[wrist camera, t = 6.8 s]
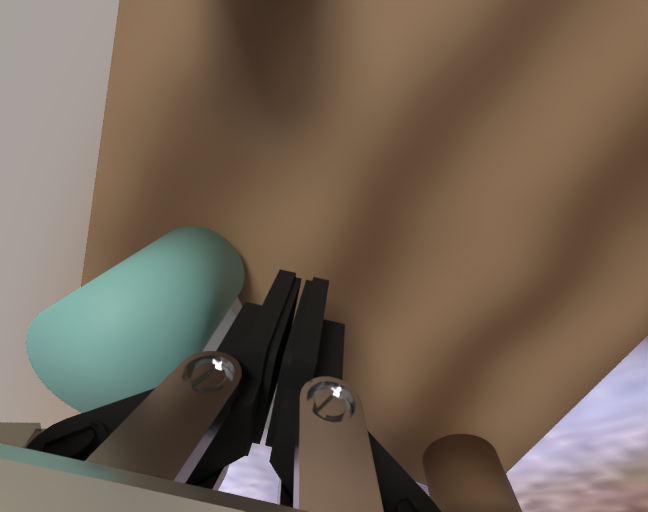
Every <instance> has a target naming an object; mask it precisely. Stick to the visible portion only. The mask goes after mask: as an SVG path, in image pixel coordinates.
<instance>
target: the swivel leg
mask: <svg viewBox="0 0 648 512" xmlns="http://www.w3.org/2000/svg"><path fill="white" fill-rule="evenodd" d="M244 276H245V274H244V267H243V263H242V260H241V258H240V256H239V254H238V252H237V251H236V249H235V248H234V247H233V245H232V244H231V243H230V242H229V241H228V240H227V239H225V238H224V237H223V236H221V235H220V234H218V233H216V232H215V231H212V230H210V229H207V228H204V227H198V226H184V227H179V228H176V229H174V230H172V231H170V232H168V233H167V234H165V235H164V236H162V237H160V238H159V239H157V240H156V241H154V242H152V243H151V244H149V245H148V246H146V247H144V248H143V249H141V250H140V251H138V252H136V253H135V254H133V255H132V256H130V257H129V258H127V259H125V260H124V261H122V262H121V263H119V264H117V265H116V266H114V267H113V268H111V269H109V270H108V271H106V272H105V273H103V274H101V275H100V276H98V277H97V278H95V279H93V280H92V281H90V282H89V283H87V284H85V285H84V286H82V287H81V288H79V289H77V290H76V291H74V292H73V293H71V294H69V295H68V296H66V297H65V298H63V299H62V300H60V301H58V302H57V303H55V304H54V305H52V306H50V307H49V308H47V309H45V310H44V311H42V312H41V313H40V314H39V315H38V316H36V318H35V319H34V320H33V322H32V323H31V325H30V327H29V329H28V333H27V340H26V344H27V353H28V356H29V360H30V362H31V364H32V367H33V369H34V370H35V372H36V374H37V375H38V377H39V378H40V380H41V381H42V382H43V383H44V384H45V386H46V387H47V388H48V389H49V390H50V391H51V392H52V393H53V394H54V395H56V396H57V397H58V398H59V399H61V400H62V401H63V402H65V403H66V404H68V405H70V406H71V407H73V408H74V409H76V410H78V411H80V412H82V413H84V412H87V411H90V410H93V409H96V408H99V407H102V406H105V405H107V404H110V403H113V402H116V401H119V400H122V399H125V398H128V397H130V396H133V395H136V394H139V393H142V392H145V391H148V390H151V389H153V388H156V387H157V386H158V385H159V384H160V383H161V382H162V381H163V380H164V379H165V378H166V377H167V376H168V375H169V374H170V373H171V372H172V371H173V370H174V369H175V368H176V367H177V366H178V365H179V364H180V363H181V362H182V361H183V360H185V359H186V358H187V357H189V356H191V355H193V354H196V353H199V352H202V351H203V352H204V351H216V350H217V348H218V347H219V345H220V343H221V342H222V340H223V338H224V337H225V335H226V333H227V332H228V330H229V328H230V327H231V325H232V323H233V322H234V320H235V318H236V316H237V315H238V313H239V311H240V310H241V308H242V305H241V303H240V301H239V298H238V295H239V293H240V292H241V290H242V287H243V284H244ZM277 384H278V383H277ZM276 389H277V387H276ZM275 394H276V390H275V393H274V397H273V400H272V404H271V407H270V411H269V414H268V417H267V421H266V424H265V428H269V424H270V419H271V414H272V409H273V404H274V399H275ZM265 428H264V429H265Z"/></svg>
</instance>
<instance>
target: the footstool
mask: <svg viewBox="0 0 648 512" xmlns="http://www.w3.org/2000/svg"><path fill="white" fill-rule="evenodd" d="M184 226H198V227H204V228H207V229H210V230H212V231H215V232H216V233H218V234H220V235H221V236H223V237H224V238H225V239H227V240H228V241H229V242H230V243H231V244H232V245H233V247H234V248H235V249H236V251H237V252H238V254H239V256H240V258H241V260H242V263H243V267H244V274H245V276H244V284H243V287H242V290H241V292H240V293H239V295H238V298H239V301H240V303H241V305H242V306H243V305H244V303H245V302H250V303H254V304H259V305H262V304H263V302H264V300H265V298H266V296H267V294H268V292H269V290H270V288H271V286H272V284H273V282H274V280H275V278H276V276H277V274H278V272H279V270H280V269H281V270H286V271H290V272H295V273H296V277H297V278H302V280H301V285H300V290H299V295H298V300H297V304H296V309H295V314H294V318H295V315H296V311H297V308H298V305H299V301H300V298H301V295H302V291H303V288H304V285H305V281H306V280H311V281H312V280H313V277H317V278H321V279H326V280H329V286H328V293H327V299H326V306H325V312H324V319H325V320H330V321H334V322H338V323H343V324H345V336H344V357H343V378H342V381H344V382H346V383H347V384H349V385H350V386H351V387H352V388H354V390H355V391H356V392H357V394H358V395H359V397H360V400H361V402H362V406H363V411H364V416H365V421H366V426H367V430H368V431H369V432H370V433H371V434H372V435H373V437H374V438H375V439H376V440H377V441H378V442H379V443H380V444H381V445H382V446H383V447H384V448H385V450H386V451H387V452H388V453H389V454H390V455H391V456H392V457H393V458H394V459H395V460H396V461H397V462H398V464H399V465H400V466H401V467H402V468H403V469H404V470H405V471H406V472H407V473H408V474H409V475H410V477H411V478H412V479H413V480H414V481H416V482H419V483H422V484H424V485H427V486H428V490H429V495H430V498H431V499H432V500H433V501H434V503H435V504H436V505H437V507H438V508H439V509H440V511H441V512H522V510H521V508H520V505H519V503H518V501H517V499H516V496H515V494H514V492H513V489H512V487H511V485H510V482H509V480H508V478H507V475H506V473H507V472H508V471H509V470H510V469H511V468H512V467H513V466H514V465H515V464H516V463H517V462H518V461H519V460H520V459H521V458H522V457H523V456H524V455H525V454H526V453H527V452H528V451H529V450H530V449H531V448H532V447H533V446H534V445H535V444H537V443H538V442H539V441H540V440H541V439H542V438H543V437H544V436H545V435H546V434H547V433H548V432H549V431H550V430H551V429H552V428H553V427H554V426H555V425H556V424H557V423H558V422H559V421H560V420H561V419H562V418H563V417H564V416H565V415H566V414H567V413H568V412H569V411H570V410H571V409H572V408H574V407H575V406H576V405H577V404H578V403H579V402H580V401H581V400H582V399H583V398H584V397H585V396H586V395H587V394H588V393H589V392H590V391H591V390H592V389H593V388H594V387H595V386H596V385H597V384H598V383H599V382H600V381H601V380H602V379H603V378H604V377H605V376H606V375H607V374H608V373H610V372H611V371H612V370H613V369H614V368H615V367H616V366H617V365H618V364H619V363H620V362H621V361H622V360H623V359H624V358H625V357H626V356H627V355H628V354H629V353H630V352H631V351H632V350H633V349H634V348H635V347H636V346H637V345H638V344H639V343H640V342H641V341H642V340H643V339H644V338H646V337H647V336H648V0H120V1H119V8H118V16H117V23H116V31H115V38H114V46H113V53H112V60H111V68H110V76H109V83H108V91H107V98H106V106H105V112H104V120H103V127H102V135H101V143H100V150H99V157H98V164H97V172H96V179H95V187H94V195H93V202H92V209H91V217H90V224H89V231H88V239H87V246H86V254H85V261H84V268H83V276H82V283H81V287H82V286H84V285H85V284H87V283H89V282H90V281H92V280H93V279H95V278H97V277H98V276H100V275H101V274H103V273H105V272H106V271H108V270H109V269H111V268H113V267H114V266H116V265H117V264H119V263H121V262H122V261H124V260H125V259H127V258H129V257H130V256H132V255H133V254H135V253H136V252H138V251H140V250H141V249H143V248H144V247H146V246H148V245H149V244H151V243H152V242H154V241H156V240H157V239H159V238H160V237H162V236H164V235H165V234H167V233H168V232H170V231H172V230H174V229H176V228H179V227H184ZM293 321H294V319H293ZM292 325H293V324H292ZM202 352H203V351H202Z"/></svg>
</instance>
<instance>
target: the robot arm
mask: <svg viewBox="0 0 648 512" xmlns="http://www.w3.org/2000/svg"><path fill="white" fill-rule="evenodd" d="M301 280H302V278H297V277H296V273H295V272H290V271H286V270H281V269H280V270H279V272H278V274H277V276H276V278H275V280H274V282H273V284H272V286H271V288H270V290H269V292H268V294H267V296H266V298H265V300H264V302H263V304H262V305H259V304H254V303H250V302H245V303H244V305H243V306H242V308H241V310H240V311H239V313H238V315H237V316H236V318H235V320H234V322H233V323H232V325H231V327H230V328H229V330H228V332H227V333H226V335H225V337H224V338H223V340H222V342H221V343H220V345H219V347H218V348H217V350H216V351H204V352H199V353H196V354H193V355H191V356H189V357H187V358H186V359H185V360H183V361H182V362H181V363H180V364H179V365H178V366H177V367H176V368H175V369H174V370H173V371H172V372H171V373H170V374H169V375H168V376H167V377H166V378H165V379H164V380H163V381H162V382H161V383H160V384H159V385H158V386H157V387H156V388H153V389H151V390H148V391H145V392H142V393H139V394H136V395H133V396H130V397H128V398H125V399H122V400H119V401H116V402H113V403H110V404H107V405H105V406H102V407H99V408H96V409H93V410H90V411H87V412H84V413H82V414H79V415H76V416H73V417H70V418H67V419H65V420H63V421H60V422H58V423H56V424H54V425H52V426H50V427H49V428H47V429H41V424H40V423H1V422H0V512H441V511H440V509H439V508H438V507H437V505H436V504H435V503H434V501H433V500H432V499H431V498H430V497H429V496H428V495H427V494H426V493H425V492H424V491H423V490H422V488H421V487H420V486H419V485H418V484H417V483H416V482H415V481H414V480H413V479H412V478H411V477H410V475H409V474H408V473H407V472H406V471H405V470H404V469H403V468H402V467H401V466H400V465H399V464H398V462H397V461H396V460H395V459H394V458H393V457H392V456H391V455H390V454H389V453H388V452H387V451H386V450H385V448H384V447H383V446H382V445H381V444H380V443H379V442H378V441H377V440H376V439H375V438H374V437H373V435H372V434H371V433H370V432H369V431H368V430H367V426H366V421H365V416H364V411H363V406H362V402H361V400H360V397H359V395H358V394H357V392H356V391H355V390H354V388H352V387H351V386H350V385H349V384H347V383H346V382H344V381H342V378H343V357H344V336H345V324H343V323H338V322H334V321H330V320H325V319H324V312H325V306H326V299H327V293H328V286H329V280H326V279H321V278H317V277H313V280H312V281H311V280H306V281H305V285H304V288H303V291H302V295H301V298H300V301H299V305H298V308H297V311H296V315H295V318H294V314H295V309H296V304H297V300H298V295H299V290H300V285H301ZM293 319H294V321H293ZM292 324H293V325H292ZM277 383H278V384H277ZM276 387H277V389H276ZM275 390H276V394H275V399H274V404H273V409H272V414H271V419H270V424H269V429H268V434H267V439H266V444H265V445H266V446H270V447H272V451H271V456H270V461H269V462H270V463H271V465H272V466H273V468H274V470H275V471H276V473H277V474H278V476H279V478H280V481H279V485H278V497H277V504H274V503H269V502H265V501H261V500H256V499H252V498H247V497H243V496H239V495H234V494H230V493H225V492H221V491H218V489H219V488H220V486H221V484H222V482H223V480H224V478H225V476H226V474H227V471H228V468H229V464H231V463H233V462H234V461H236V460H238V459H240V458H242V457H243V456H248V454H249V451H250V448H251V445H252V443H256V444H260V441H261V438H262V435H263V431H264V428H265V424H266V421H267V417H268V414H269V411H270V407H271V404H272V400H273V397H274V393H275Z"/></svg>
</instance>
